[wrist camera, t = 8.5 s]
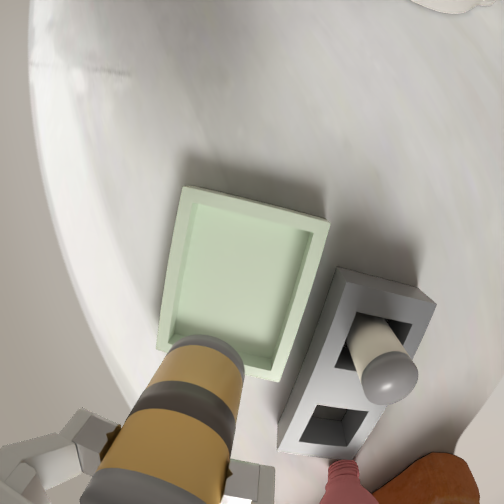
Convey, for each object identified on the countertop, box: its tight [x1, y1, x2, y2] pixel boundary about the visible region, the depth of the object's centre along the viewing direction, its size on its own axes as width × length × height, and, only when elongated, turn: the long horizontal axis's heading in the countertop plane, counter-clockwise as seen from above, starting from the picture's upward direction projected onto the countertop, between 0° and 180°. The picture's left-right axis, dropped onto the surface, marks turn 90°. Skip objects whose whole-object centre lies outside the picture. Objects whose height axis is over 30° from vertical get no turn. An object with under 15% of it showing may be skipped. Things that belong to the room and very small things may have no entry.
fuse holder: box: [277, 267, 437, 460], centre depth 25 cm, size 18×8×4 cm, turn 166°
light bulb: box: [319, 459, 379, 504], centre depth 25 cm, size 7×7×12 cm
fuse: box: [346, 312, 418, 405], centre depth 22 cm, size 4×4×9 cm
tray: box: [156, 186, 331, 382], centre depth 25 cm, size 14×11×2 cm
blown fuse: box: [80, 334, 245, 504], centre depth 10 cm, size 4×4×9 cm
